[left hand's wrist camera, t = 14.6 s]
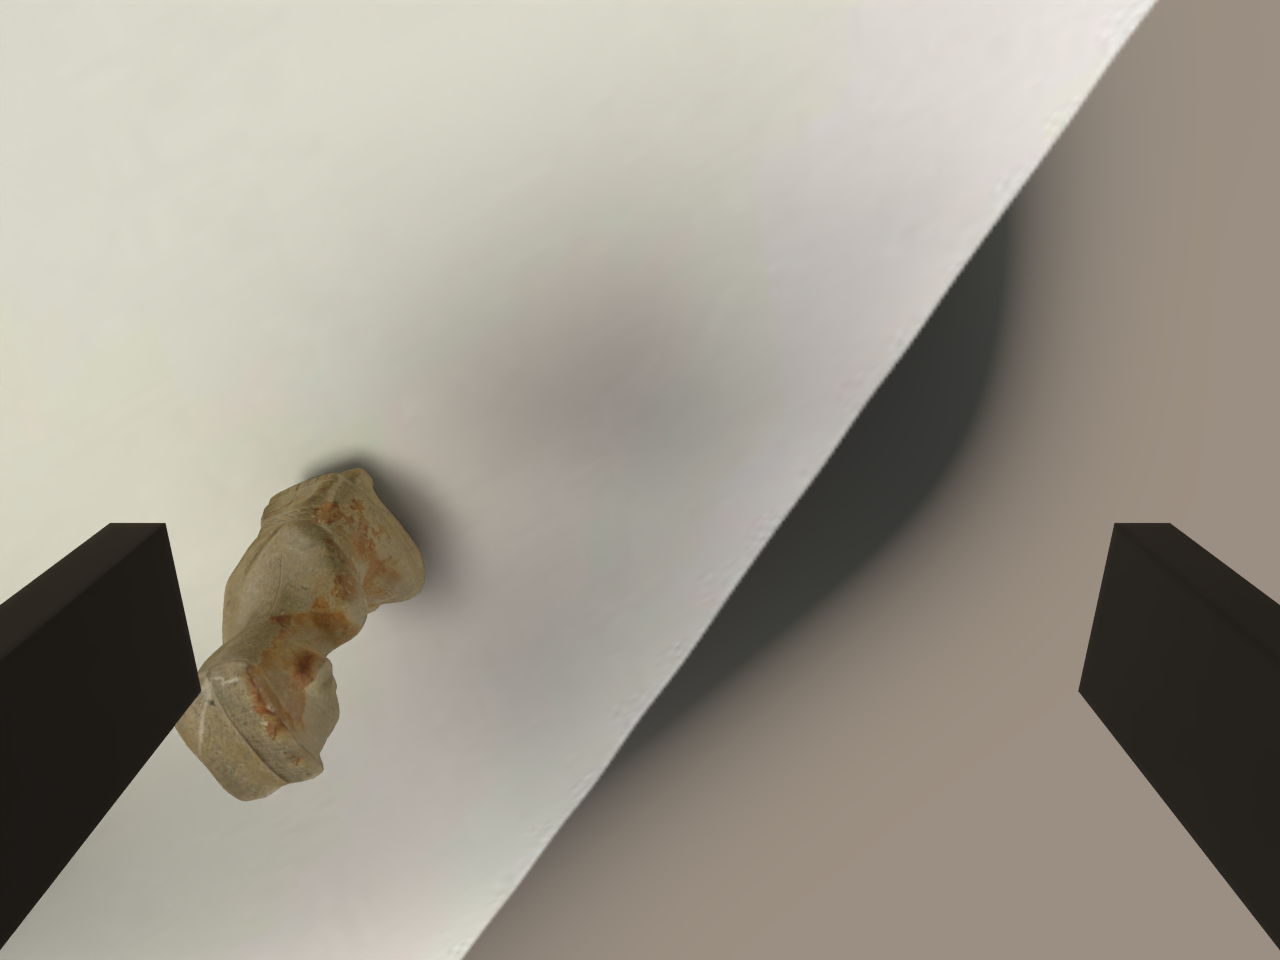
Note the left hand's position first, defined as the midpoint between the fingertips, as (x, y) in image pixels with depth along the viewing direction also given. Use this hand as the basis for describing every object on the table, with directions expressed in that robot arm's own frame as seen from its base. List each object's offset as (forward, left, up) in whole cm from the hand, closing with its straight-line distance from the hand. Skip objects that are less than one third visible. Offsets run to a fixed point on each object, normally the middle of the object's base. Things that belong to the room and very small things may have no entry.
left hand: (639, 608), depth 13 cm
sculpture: (-16, +6, -27) cm, 32 cm away
